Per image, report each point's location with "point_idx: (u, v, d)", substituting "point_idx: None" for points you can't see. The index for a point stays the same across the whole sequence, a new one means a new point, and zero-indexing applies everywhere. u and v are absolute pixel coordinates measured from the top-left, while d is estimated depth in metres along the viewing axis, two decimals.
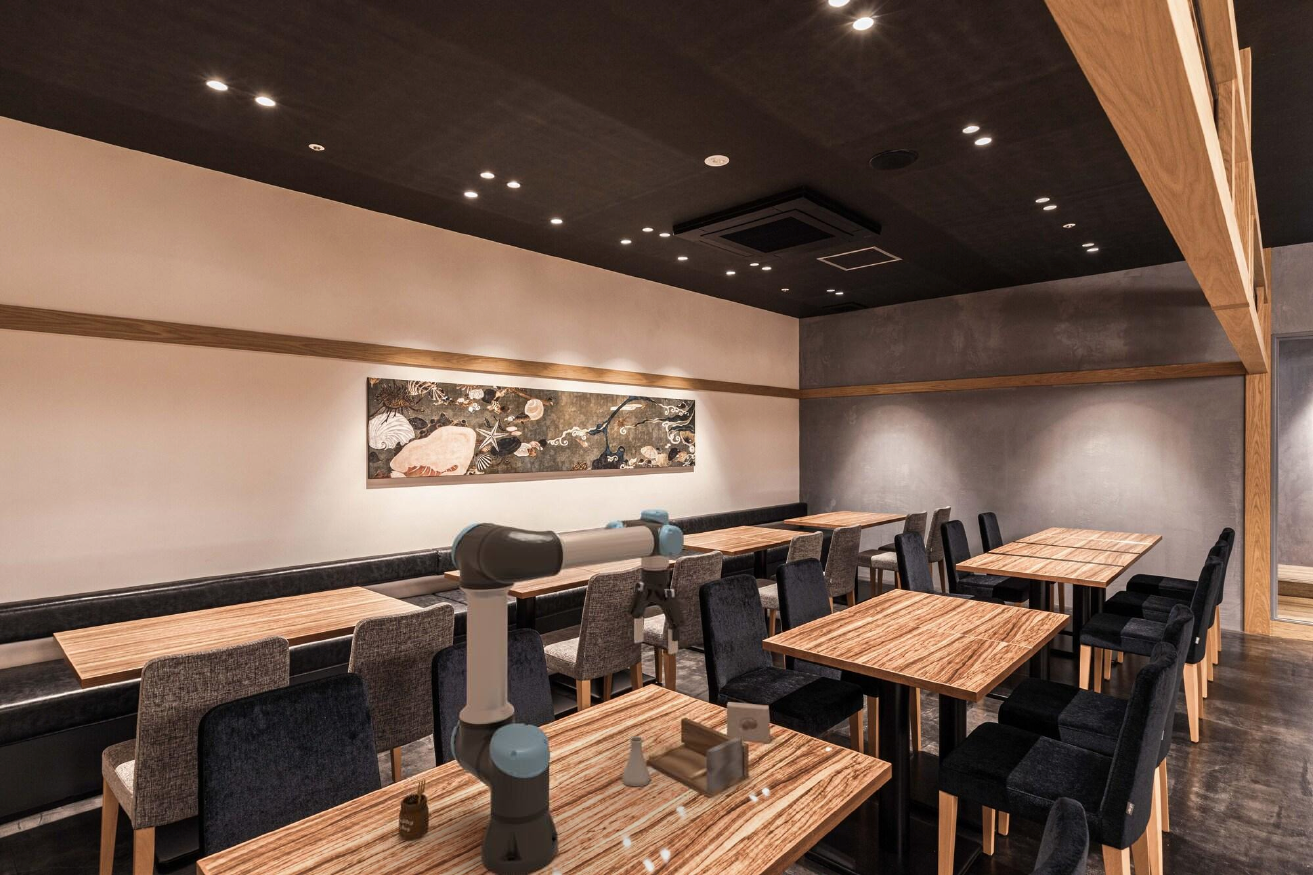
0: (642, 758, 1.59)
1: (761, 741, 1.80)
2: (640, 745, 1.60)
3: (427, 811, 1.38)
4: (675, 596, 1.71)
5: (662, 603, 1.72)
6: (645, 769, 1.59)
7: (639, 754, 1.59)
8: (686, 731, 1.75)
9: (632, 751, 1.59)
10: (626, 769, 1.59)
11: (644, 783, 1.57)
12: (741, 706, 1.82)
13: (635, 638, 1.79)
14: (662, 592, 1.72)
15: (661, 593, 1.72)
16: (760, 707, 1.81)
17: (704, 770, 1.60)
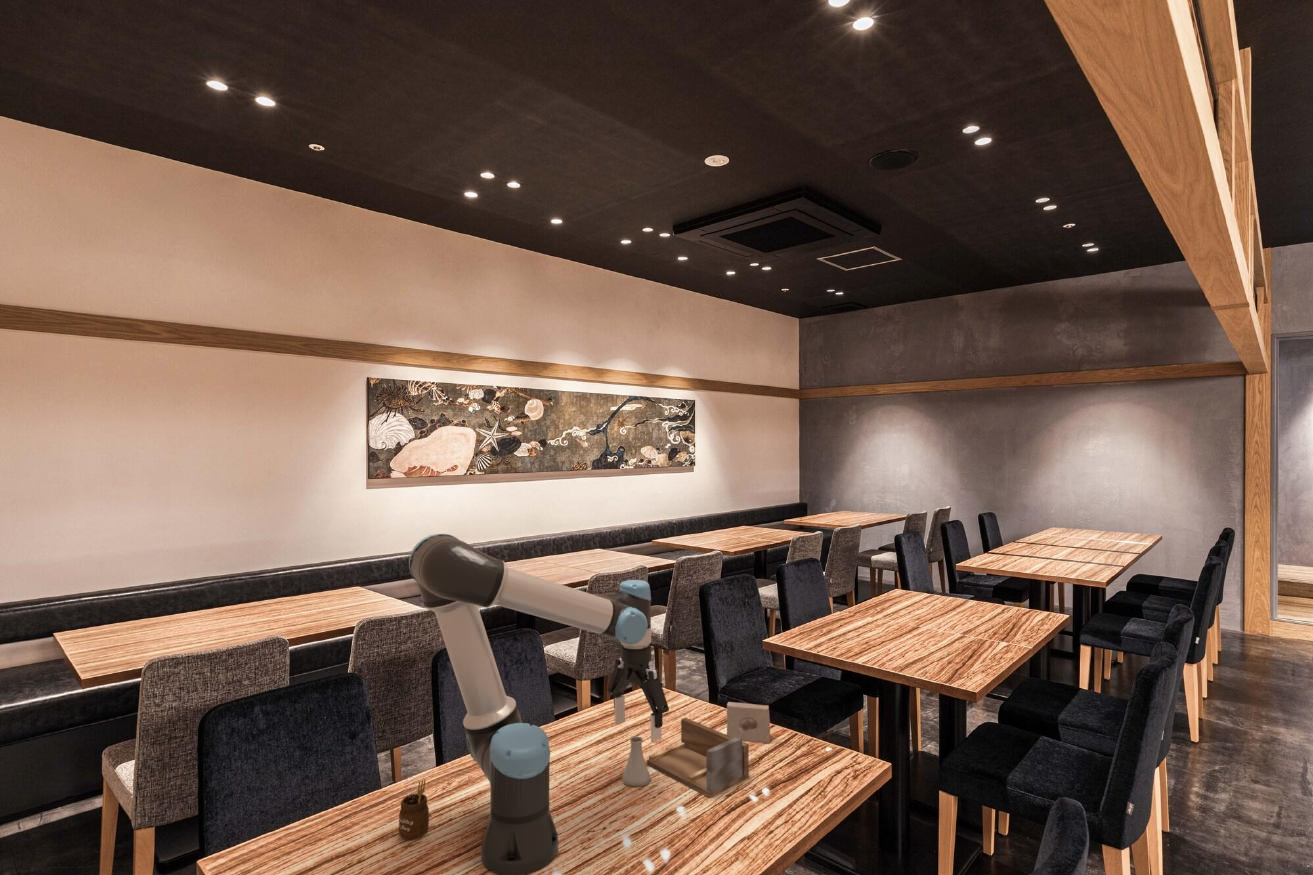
0: (642, 758, 1.59)
1: (761, 741, 1.80)
2: (640, 745, 1.60)
3: (427, 811, 1.38)
4: (658, 677, 1.56)
5: (644, 685, 1.57)
6: (645, 769, 1.59)
7: (639, 754, 1.59)
8: (686, 731, 1.75)
9: (632, 751, 1.59)
10: (626, 769, 1.59)
11: (644, 783, 1.57)
12: (741, 706, 1.82)
13: (616, 719, 1.65)
14: (643, 673, 1.57)
15: (642, 674, 1.57)
16: (760, 707, 1.81)
17: (704, 770, 1.60)
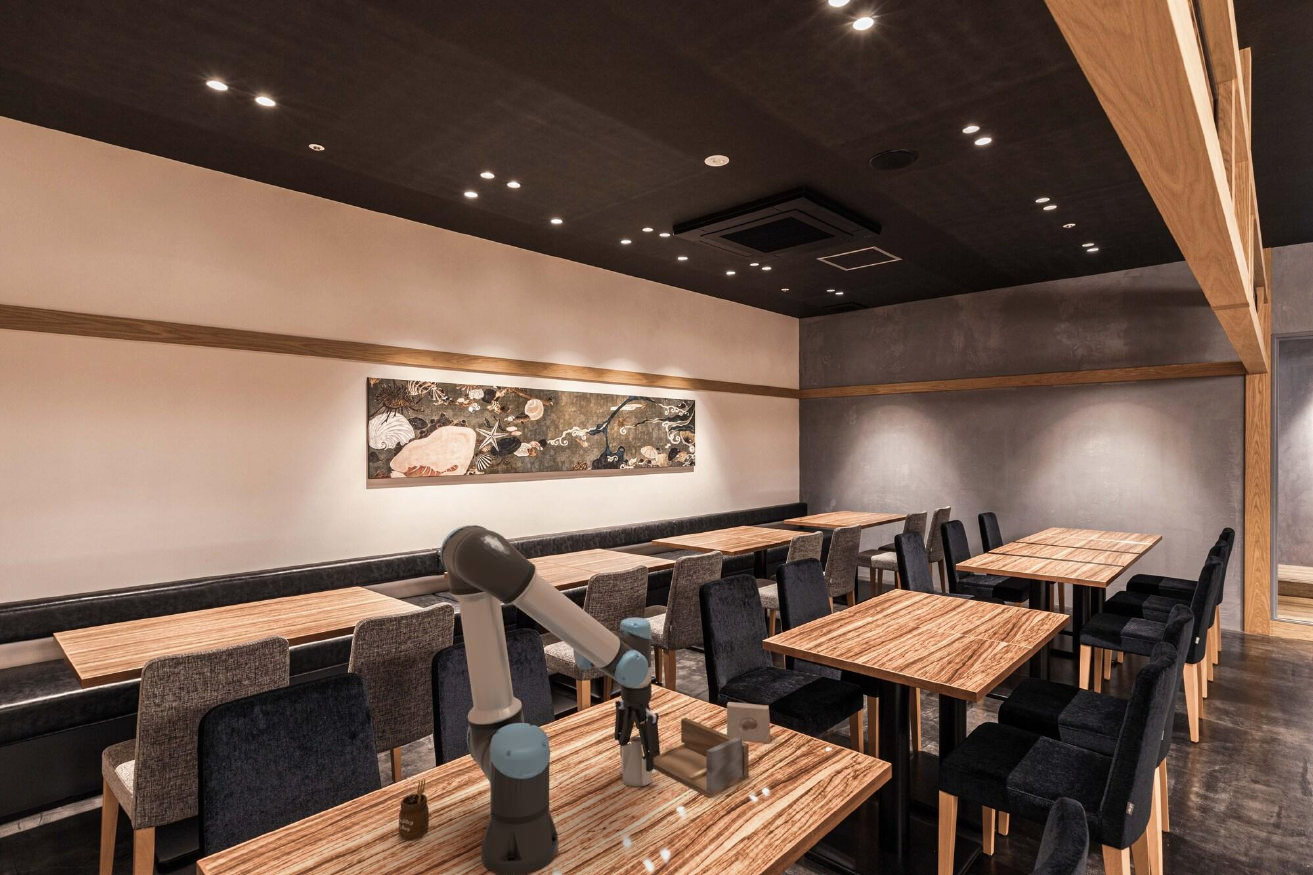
0: None
1: (761, 741, 1.80)
2: (640, 745, 1.60)
3: (427, 811, 1.38)
4: (656, 722, 1.56)
5: (641, 726, 1.57)
6: None
7: (639, 754, 1.59)
8: (686, 731, 1.75)
9: (632, 751, 1.59)
10: (626, 769, 1.59)
11: None
12: (741, 706, 1.82)
13: (622, 768, 1.62)
14: (643, 713, 1.57)
15: (642, 714, 1.57)
16: (760, 707, 1.81)
17: (704, 770, 1.60)
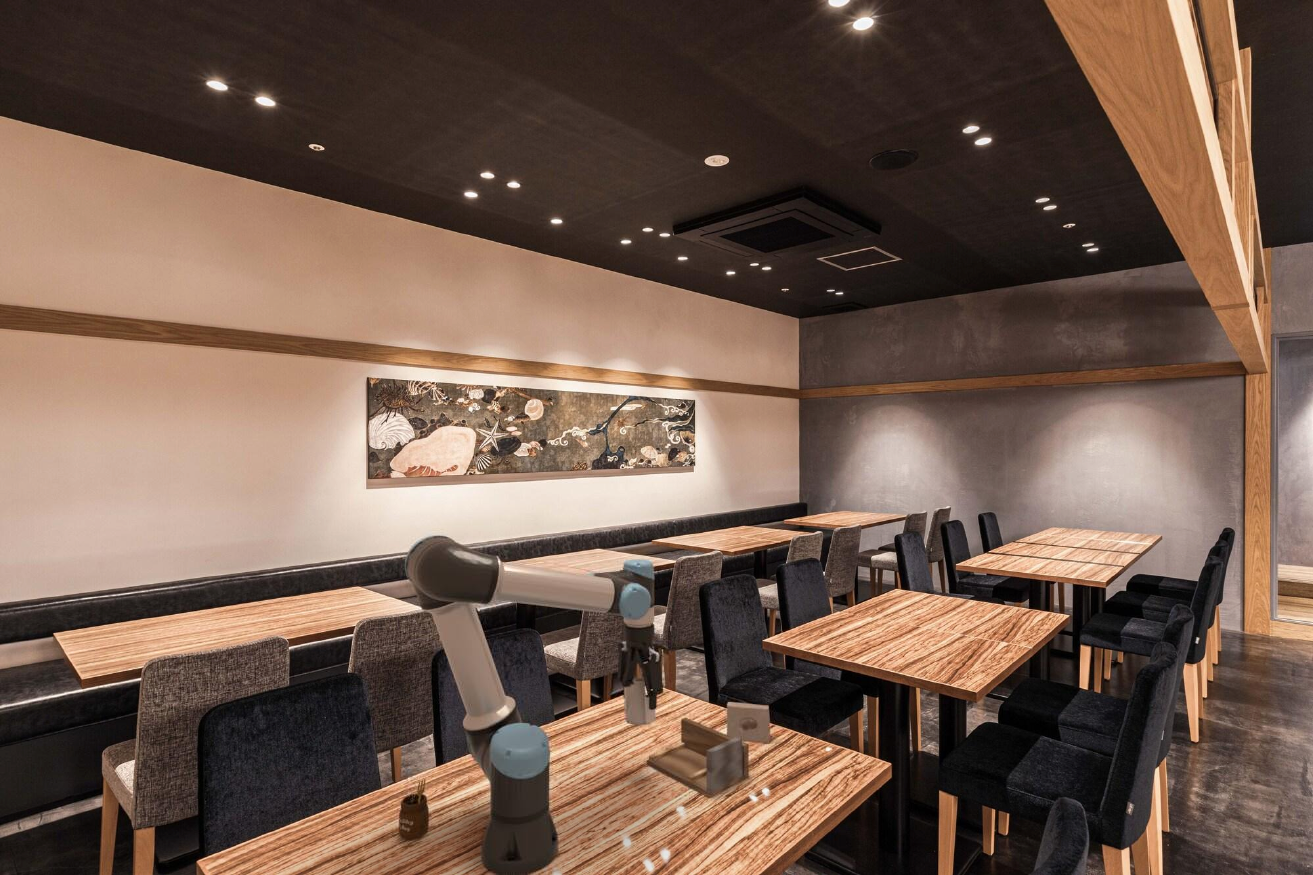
0: None
1: (761, 741, 1.80)
2: (643, 685, 1.60)
3: (427, 811, 1.38)
4: (659, 661, 1.57)
5: (644, 665, 1.58)
6: None
7: (642, 694, 1.60)
8: (686, 731, 1.75)
9: (635, 691, 1.60)
10: (629, 709, 1.60)
11: None
12: (741, 706, 1.82)
13: (625, 709, 1.63)
14: (646, 652, 1.58)
15: (645, 653, 1.58)
16: (760, 707, 1.81)
17: (704, 770, 1.60)
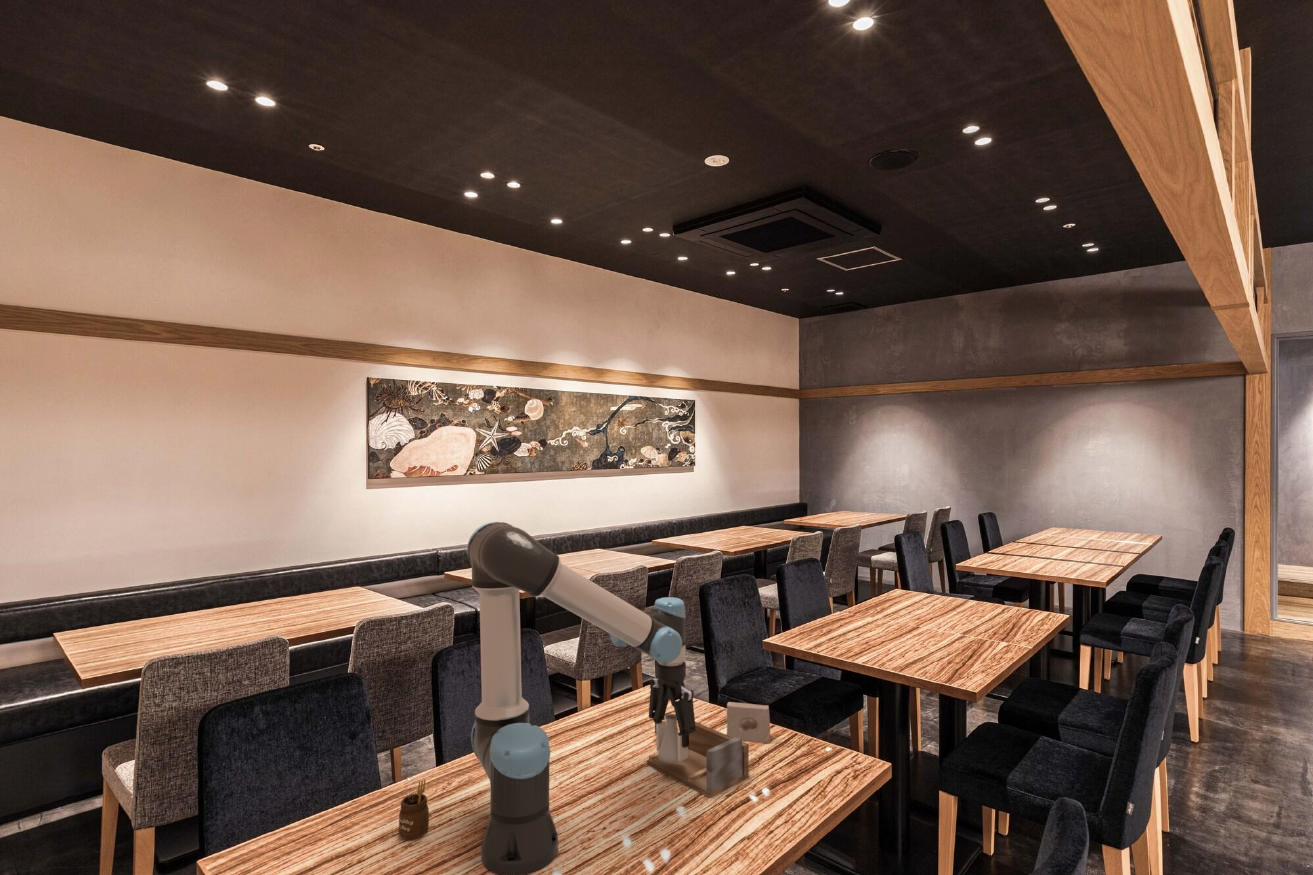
0: (677, 735, 1.62)
1: (761, 741, 1.80)
2: (675, 722, 1.62)
3: (427, 811, 1.38)
4: (691, 699, 1.59)
5: (676, 704, 1.60)
6: None
7: (675, 731, 1.62)
8: None
9: (668, 728, 1.62)
10: (662, 746, 1.62)
11: None
12: (741, 706, 1.82)
13: (657, 745, 1.65)
14: (678, 691, 1.60)
15: (677, 691, 1.60)
16: (760, 707, 1.81)
17: (704, 770, 1.60)
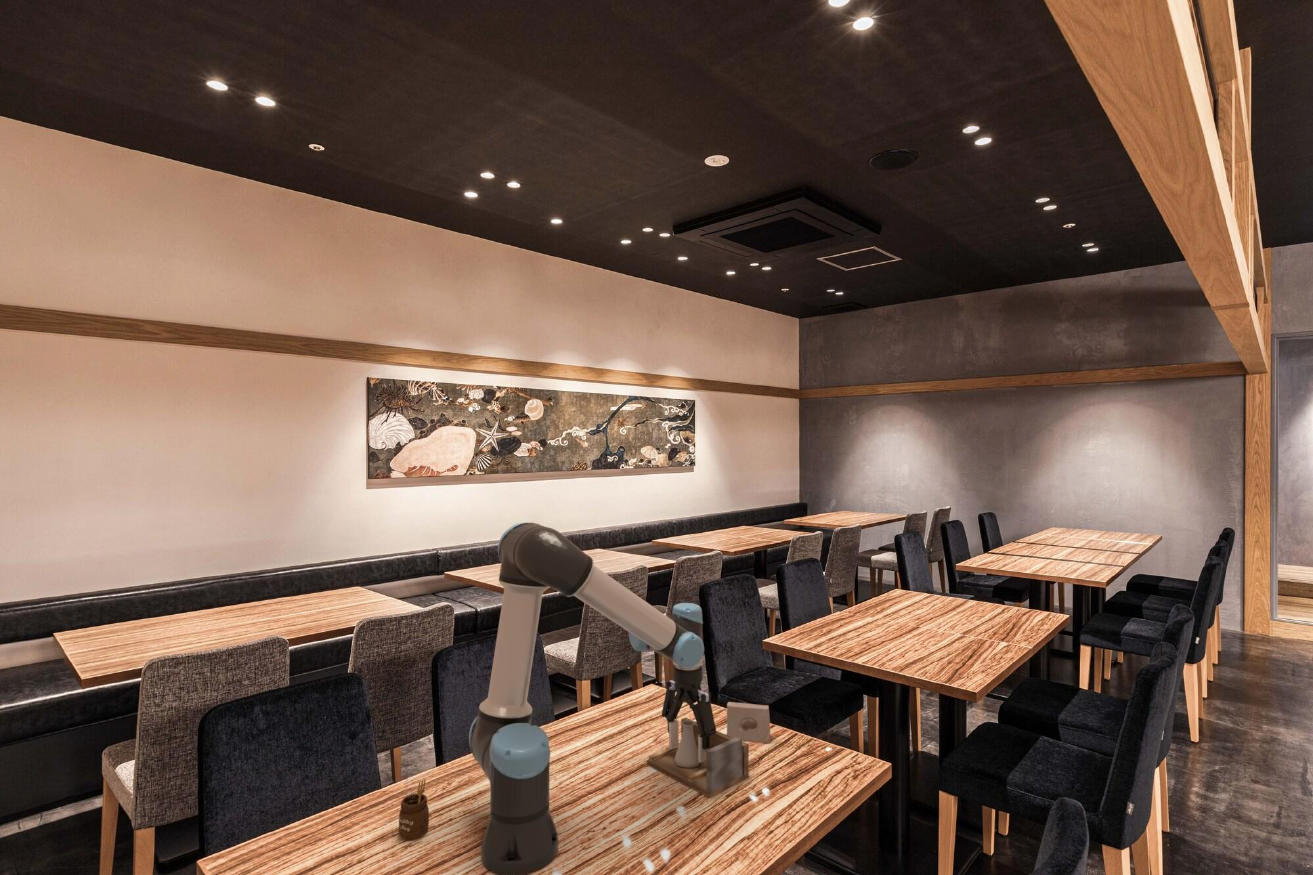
0: (694, 741, 1.66)
1: (761, 741, 1.80)
2: (692, 728, 1.66)
3: (427, 811, 1.38)
4: (709, 701, 1.63)
5: (694, 706, 1.64)
6: (697, 751, 1.65)
7: (691, 737, 1.65)
8: None
9: (684, 734, 1.66)
10: (678, 751, 1.66)
11: (696, 765, 1.64)
12: (741, 706, 1.82)
13: (670, 743, 1.70)
14: (696, 694, 1.63)
15: (694, 694, 1.64)
16: (760, 707, 1.81)
17: (704, 770, 1.60)
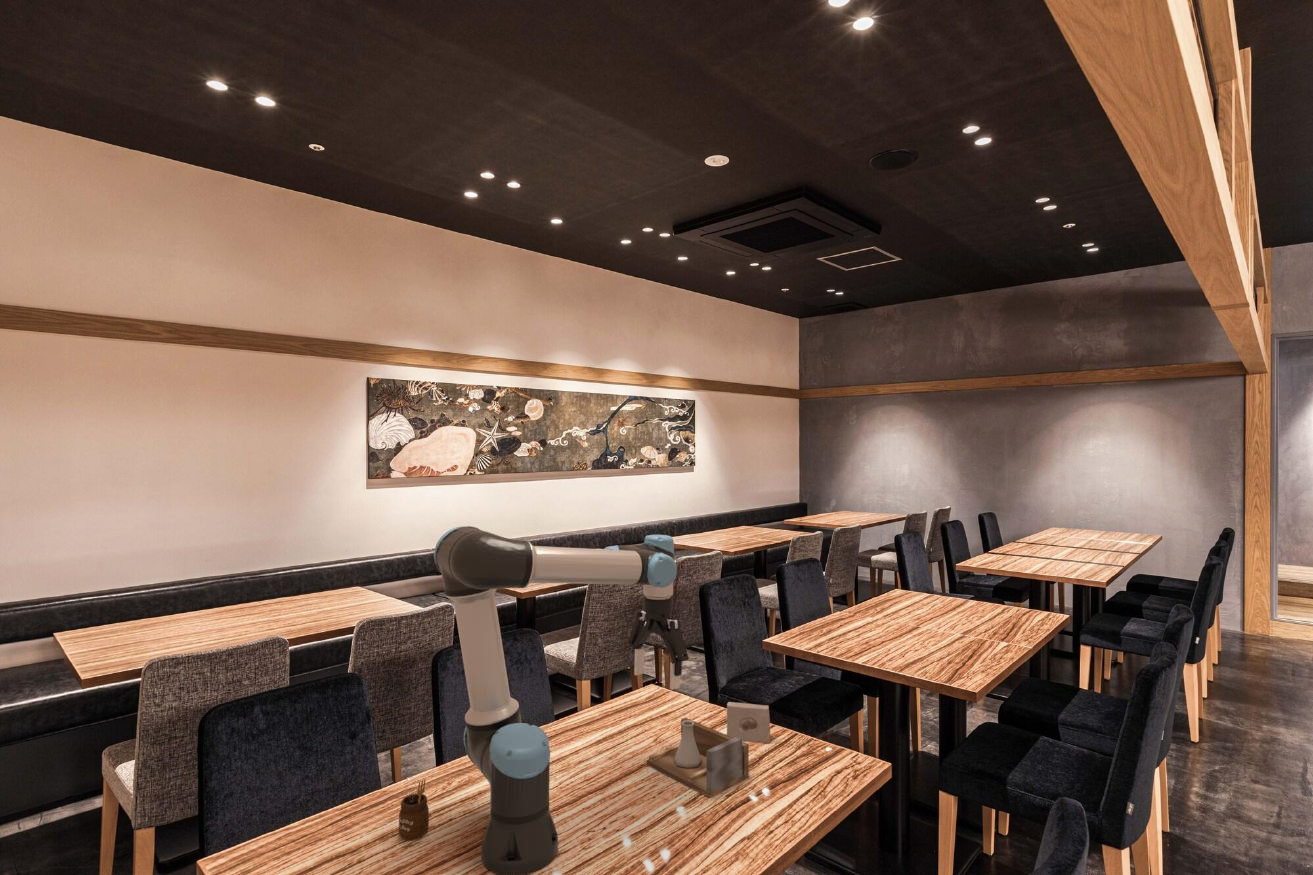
0: (694, 741, 1.66)
1: (761, 741, 1.80)
2: (692, 728, 1.66)
3: (427, 811, 1.38)
4: (678, 628, 1.61)
5: (664, 634, 1.62)
6: (697, 751, 1.66)
7: (691, 737, 1.65)
8: None
9: (684, 734, 1.66)
10: (678, 751, 1.66)
11: (696, 765, 1.64)
12: (741, 706, 1.82)
13: (635, 670, 1.70)
14: (665, 623, 1.62)
15: (664, 624, 1.63)
16: (760, 707, 1.81)
17: (704, 770, 1.60)
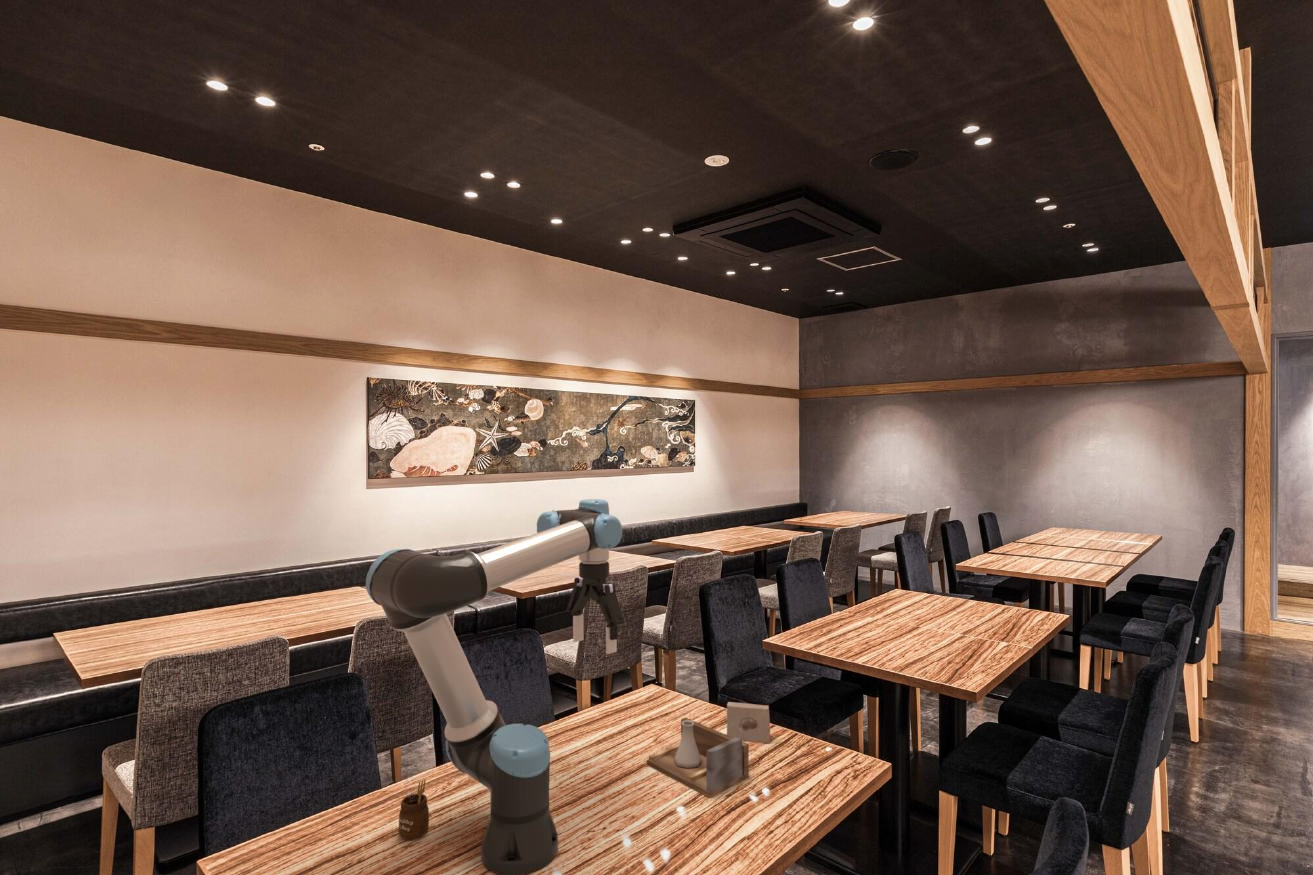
0: (694, 741, 1.66)
1: (761, 741, 1.80)
2: (692, 728, 1.66)
3: (427, 811, 1.38)
4: (614, 591, 1.59)
5: (600, 599, 1.60)
6: (697, 751, 1.66)
7: (691, 737, 1.65)
8: None
9: (684, 734, 1.66)
10: (678, 751, 1.66)
11: (696, 765, 1.64)
12: (741, 706, 1.82)
13: (574, 637, 1.67)
14: (600, 587, 1.60)
15: (599, 588, 1.60)
16: (760, 707, 1.81)
17: (704, 770, 1.60)
